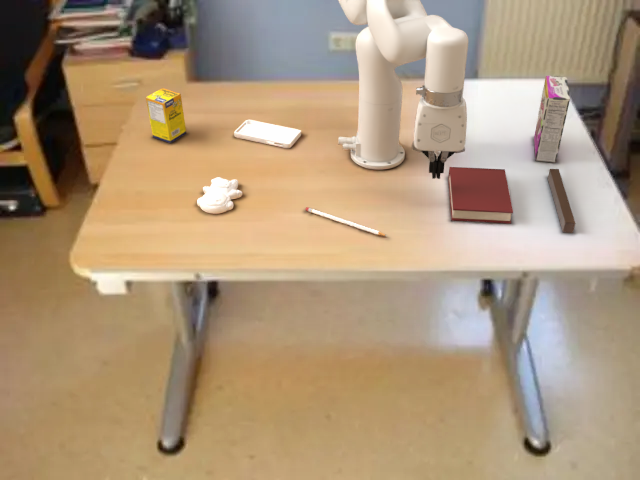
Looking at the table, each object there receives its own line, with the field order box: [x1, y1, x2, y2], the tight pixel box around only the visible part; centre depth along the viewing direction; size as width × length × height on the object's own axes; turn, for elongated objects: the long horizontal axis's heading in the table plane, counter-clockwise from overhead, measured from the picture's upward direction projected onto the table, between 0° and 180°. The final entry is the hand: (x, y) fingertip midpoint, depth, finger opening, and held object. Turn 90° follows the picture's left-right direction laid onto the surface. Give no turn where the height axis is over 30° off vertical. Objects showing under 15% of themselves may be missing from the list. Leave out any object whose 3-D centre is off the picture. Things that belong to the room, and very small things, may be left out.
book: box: [447, 166, 514, 225], centre depth 150 cm, size 12×16×3 cm
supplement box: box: [145, 87, 187, 144], centre depth 170 cm, size 6×6×11 cm
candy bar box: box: [533, 75, 571, 164], centre depth 162 cm, size 11×5×16 cm, turn 168°
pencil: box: [305, 206, 387, 237], centre depth 144 cm, size 1×19×1 cm, turn 60°
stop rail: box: [547, 168, 576, 234], centre depth 149 cm, size 2×20×2 cm, turn 174°
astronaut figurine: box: [196, 176, 243, 215], centre depth 151 cm, size 9×12×3 cm
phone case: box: [233, 119, 302, 149], centre depth 173 cm, size 7×1×15 cm
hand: (435, 175), depth 148 cm, fingers closed
